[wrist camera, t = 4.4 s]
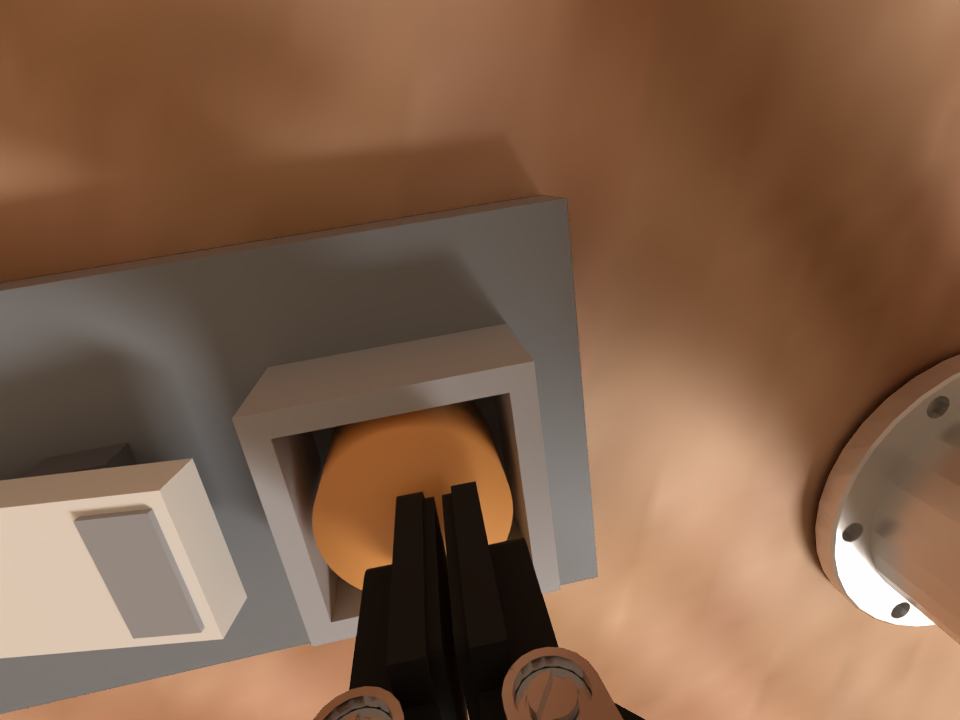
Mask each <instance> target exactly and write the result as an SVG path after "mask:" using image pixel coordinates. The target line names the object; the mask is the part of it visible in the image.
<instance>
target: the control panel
mask: <svg viewBox="0 0 960 720" xmlns="http://www.w3.org/2000/svg"><path fill="white" fill-rule="evenodd" d="M469 400H471V401H472V402H473V403H474V404H475V405H476V406H477V407H478V409H479V410H480V411H481V413H482V415H483V416H484V418H485V420H486V423H487V425H488V428H489V430H490V433H491V436H492V439H493V442H494V445H495V448H496V450H497V453H498V456H499V459H500V462H501V465H502V467H503V470H504V473H505V476H506V479H507V482H508V485H509V487H510V491H511V495H512V500H513V518H512V524H511V529H510V532H509V535H508V537H507V540H506V541H509V540H514V539H519V538H523V537H524V538H525V540H526V543H527V546H528V550H529V553H530V556H531V559H532V563H533V566H534V569H535V572H536V576H537V579H538V582H539V585H540V589H541V592H542V594H544V593H548V592H552V591H557V590H561V588H560V585H564V584H569V583H573V582H578V581H582V580H586V579H591V578H595V577H598V570H597V558H596V546H595V534H594V522H593V510H592V497H591V485H590V473H589V461H588V449H587V437H586V425H585V413H584V401H583V389H582V377H581V364H580V352H579V340H578V328H577V316H576V304H575V292H574V280H573V268H572V256H571V244H570V232H569V219H568V207H567V198H561V197H553V196H544V195H539V196H533V197H527V198H520V199H514V200H508V201H502V202H496V203H490V204H483V205H477V206H471V207H465V208H459V209H453V210H446V211H440V212H434V213H428V214H422V215H416V216H410V217H403V218H397V219H391V220H385V221H379V222H373V223H366V224H360V225H354V226H348V227H342V228H336V229H329V230H323V231H317V232H311V233H305V234H299V235H293V236H286V237H280V238H274V239H268V240H262V241H256V242H249V243H243V244H237V245H231V246H225V247H219V248H212V249H206V250H200V251H194V252H188V253H182V254H176V255H169V256H163V257H157V258H151V259H145V260H139V261H132V262H126V263H120V264H114V265H108V266H102V267H95V268H89V269H83V270H77V271H71V272H65V273H58V274H52V275H46V276H40V277H34V278H28V279H22V280H15V281H9V282H3V283H0V480H9V479H18V478H26V477H35V476H43V475H52V474H61V473H69V472H78V471H87V470H95V469H104V468H112V467H121V466H130V465H138V464H147V463H155V462H164V461H173V460H181V459H190V458H193V461H194V463H195V466H196V468H197V471H198V474H199V476H200V479H201V481H202V484H203V486H204V489H205V491H206V494H207V496H208V499H209V501H210V504H211V507H212V509H213V512H214V514H215V517H216V519H217V522H218V524H219V527H220V529H221V532H222V534H223V537H224V540H225V542H226V545H227V547H228V550H229V552H230V555H231V557H232V560H233V562H234V565H235V567H236V570H237V573H238V575H239V578H240V580H241V583H242V585H243V588H244V590H245V593H246V595H247V599H246V600H245V602H244V604H243V606H242V607H241V609H240V611H239V613H238V614H237V616H236V618H235V620H234V621H233V623H232V625H231V627H230V628H229V630H228V632H227V634H226V635H225V637H224V639H219V640H208V641H196V642H185V643H173V644H161V645H150V646H138V647H127V648H115V649H104V650H92V651H81V652H69V653H58V654H46V655H34V656H23V657H11V658H0V714H3V713H7V712H11V711H16V710H20V709H25V708H29V707H33V706H38V705H42V704H46V703H51V702H55V701H59V700H64V699H68V698H72V697H77V696H81V695H86V694H90V693H94V692H99V691H103V690H107V689H112V688H116V687H120V686H125V685H129V684H133V683H138V682H142V681H146V680H151V679H155V678H160V677H164V676H168V675H173V674H177V673H181V672H186V671H190V670H194V669H199V668H203V667H207V666H212V665H216V664H220V663H225V662H229V661H234V660H238V659H242V658H247V657H251V656H255V655H260V654H264V653H268V652H273V651H277V650H281V649H286V648H290V647H295V646H299V645H303V644H308V643H311V645H312V647H314V646H318V645H322V644H327V643H331V642H335V641H340V640H344V639H348V638H353V637H356V635H357V627H358V619H359V612H360V604H361V596H362V590H360V589H358V588H356V587H354V586H352V585H351V584H349V583H348V582H346V581H345V580H343V579H342V578H341V577H340V576H338V575H337V574H336V573H335V572H334V571H333V570H332V569H331V568H330V566H329V565H328V564H327V563H326V562H325V560H324V558H323V557H322V555H321V553H320V552H319V549H318V547H317V544H316V542H315V538H314V533H313V525H312V515H313V507H314V503H315V499H316V495H317V491H318V488H319V484H320V480H321V476H322V473H323V469H324V465H325V461H326V458H327V454H328V450H329V446H330V443H331V439H332V435H333V431H334V429H335V427H336V426H341V425H346V424H351V423H356V422H361V421H366V420H371V419H377V418H382V417H387V416H392V415H397V414H402V413H407V412H412V411H418V410H423V409H428V408H433V407H438V406H443V405H448V404H453V403H459V402H464V401H469Z"/></svg>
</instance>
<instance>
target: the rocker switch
mask: <svg viewBox="0 0 960 720" xmlns="http://www.w3.org/2000/svg"><path fill="white" fill-rule="evenodd" d="M246 599H247V595H246V593H245V590H244V588H243V585H242V583H241V580H240V578H239V575H238V573H237V570H236V567H235V565H234V562H233V560H232V557H231V555H230V552H229V550H228V547H227V545H226V542H225V540H224V537H223V534H222V532H221V529H220V527H219V524H218V522H217V519H216V517H215V514H214V512H213V509H212V507H211V504H210V501H209V499H208V496H207V494H206V491H205V489H204V486H203V484H202V481H201V479H200V476H199V474H198V471H197V468H196V466H195V463H194V461H193V458H190V459H181V460H173V461H164V462H155V463H147V464H138V465H130V466H121V467H112V468H104V469H95V470H87V471H78V472H69V473H61V474H52V475H43V476H35V477H26V478H18V479H9V480H0V658H11V657H23V656H34V655H46V654H58V653H69V652H81V651H92V650H104V649H115V648H127V647H138V646H150V645H161V644H173V643H185V642H196V641H208V640H219V639H224V637H225V635H226V634H227V632H228V630H229V628H230V627H231V625H232V623H233V621H234V620H235V618H236V616H237V614H238V613H239V611H240V609H241V607H242V606H243V604H244V602H245V600H246Z"/></svg>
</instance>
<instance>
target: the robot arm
mask: <svg viewBox="0 0 960 720" xmlns="http://www.w3.org/2000/svg"><path fill="white" fill-rule="evenodd" d="M442 506H443V518H444V530H445V543H446V551H445V546H444V541H443V536H442V532H441V527H440V522H439V517H438V513H437V508H436V503H435V499H434V496H433V497H428V498H425V497H424V494H423V492H417V493H412V494H407V495H402V496H397V497H396V508H395V524H394V541H393V557H392V564H390V565H385V566H380V567H375V568H370V569H367V570H366V572H365V575H364V581H363V589H362V596H361V604H360V612H359V619H358V627H357V635H356V642H355V650H354V658H353V665H352V673H351V681H350V688H349V691H347V692H345V693H343V694H341V695H339V696H337V697H335V698H334V699H333V700H331V701H330V702H329V703H328V704H327V705H325V706H324V707H323V708H322V709H321V710H320V712H319V713H318V714H317V715H316V717H315V718H314V719H313V720H468V714H469V719H470V720H645V719H643V718H641V717H639V716H638V715H636V714H634V713H632V712H630V711H628V710H627V709H625V708H623V707H621V706H619V705H618V704H616V703H614V702H613V700H612V698H611V697H610V695H609V693H608V691H607V689H606V687H605V686H604V684H603V682H602V680H601V678H600V677H599V675H598V673H597V672H596V670H595V669H594V668H593V667H592V665H591V664H590V663H589V661H587V660H586V659H584V658H583V657H582V656H580V655H579V654H577V653H576V652H573V651H570V650H567V649H565V648H559V647H558V644H557V641H556V638H555V634H554V631H553V628H552V625H551V621H550V618H549V615H548V612H547V608H546V605H545V602H544V599H543V595H542V592H541V589H540V585H539V582H538V579H537V576H536V572H535V569H534V566H533V563H532V559H531V556H530V553H529V550H528V546H527V543H526V540H525V538H524V537H523V538H519V539H514V540H509V541H504V542H499V543H494V544H489V545H488V540H487V535H486V530H485V525H484V520H483V515H482V510H481V505H480V500H479V495H478V490H477V485H476V481H474V482H469V483H463V484H458V485H453V486H451V493H449V494H444V495H442ZM815 533H816V549H817V554H818V557H819V560H820V563H821V566H822V569H823V571H824V573H825V574H826V576H827V577H828V579H829V580H830V582H831V583H832V585H833V586H834V587H835V588H836V589H837V590H838V591H839V592H840V593H841V594H842V595H843V596H844V597H846V598H847V599H848V600H849V601H850V602H851V603H852V604H853V605H854V606H855V607H856V608H857V609H859V610H860V611H862V612H864V613H865V614H867V615H869V616H870V617H872V618H874V619H877V620H880V621H883V622H886V623H889V624H896V625H908V626H925V625H935V624H936V625H937V626H938V627H939V628H941V629H942V630H943V631H944V632H945V633H947V634H948V635H949V636H950V637H951V638H953V639H954V640H955V641H956V642H957V643H959V644H960V355H957V356H955V357H952V358H949V359H947V360H944V361H942V362H941V363H939V364H937V365H935V366H934V367H932V368H930V369H928V370H927V371H925V372H923V373H921V374H920V375H918V376H916V377H914V378H913V379H911V380H910V381H909V382H908V383H906V384H905V385H904V386H902V387H901V388H900V389H899V390H897V391H896V392H895V393H893V394H892V395H891V396H889V397H888V398H887V399H886V400H885V401H884V402H883V403H882V404H881V405H880V406H879V407H878V408H877V409H876V410H875V411H874V412H873V413H872V414H871V415H870V416H869V417H868V418H867V419H866V420H865V421H864V422H863V423H862V424H861V426H860V427H859V428H858V430H857V431H856V432H855V434H854V435H853V436H852V438H851V439H850V440H849V442H848V443H847V444H846V446H845V447H844V448H843V450H842V452H841V454H840V455H839V457H838V459H837V461H836V463H835V465H834V466H833V468H832V470H831V472H830V474H829V476H828V479H827V481H826V484H825V487H824V490H823V493H822V496H821V498H820V501H819V507H818V513H817V520H816V526H815ZM446 555H447V556H446ZM467 710H468V714H467Z"/></svg>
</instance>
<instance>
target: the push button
mask: <svg viewBox="0 0 960 720" xmlns="http://www.w3.org/2000/svg"><path fill="white" fill-rule="evenodd" d="M474 481H476V485H477V490H478V495H479V500H480V505H481V510H482V515H483V520H484V525H485V530H486V535H487V540H488V545H489V544H494V543H499V542H504V541H506V540H507V537H508V535H509V532H510V529H511V524H512V518H513V500H512V495H511V491H510V487H509V485H508V482H507V479H506V476H505V473H504V470H503V467H502V465H501V462H500V459H499V456H498V453H497V450H496V448H495V445H494V442H493V439H492V436H491V433H490V430H489V428H488V425H487V423H486V420H485V418H484V416H483V415H482V413H481V411H480V410H479V409H478V407H477V406H476V405H475V404H474V403H473V402H472V401H471V400H469V401H464V402H459V403H453V404H448V405H443V406H438V407H433V408H428V409H423V410H418V411H412V412H407V413H402V414H397V415H392V416H387V417H382V418H377V419H371V420H366V421H361V422H356V423H351V424H346V425H341V426H336V427H335V429H334V431H333V435H332V439H331V443H330V446H329V450H328V454H327V458H326V461H325V465H324V469H323V473H322V476H321V480H320V484H319V488H318V491H317V495H316V499H315V503H314V507H313V515H312V525H313V533H314V538H315V542H316V544H317V547H318V549H319V552H320V553H321V555H322V557H323V558H324V560H325V562H326V563H327V564H328V565H329V566H330V568H331V569H332V570H333V571H334V572H335V573H336V574H337V575H338V576H340V577H341V578H342V579H343V580H345V581H346V582H348V583H349V584H351V585H352V586H354V587H356V588H358V589H360V590H362V589H363V581H364V575H365V572H366V570H367V569H370V568H375V567H380V566H385V565H390V564H392V557H393V541H394V524H395V508H396V497H397V496H402V495H407V494H412V493H417V492H423V494H424V497H425V498H428V497H433V496H434V499H435V503H436V508H437V513H438V517H439V522H440V527H441V532H442V536H443V541H444V546H445V551H446V543H445V530H444V518H443V506H442V495H444V494H449V493H451V486H453V485H458V484H463V483H469V482H474ZM446 556H447V555H446Z"/></svg>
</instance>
